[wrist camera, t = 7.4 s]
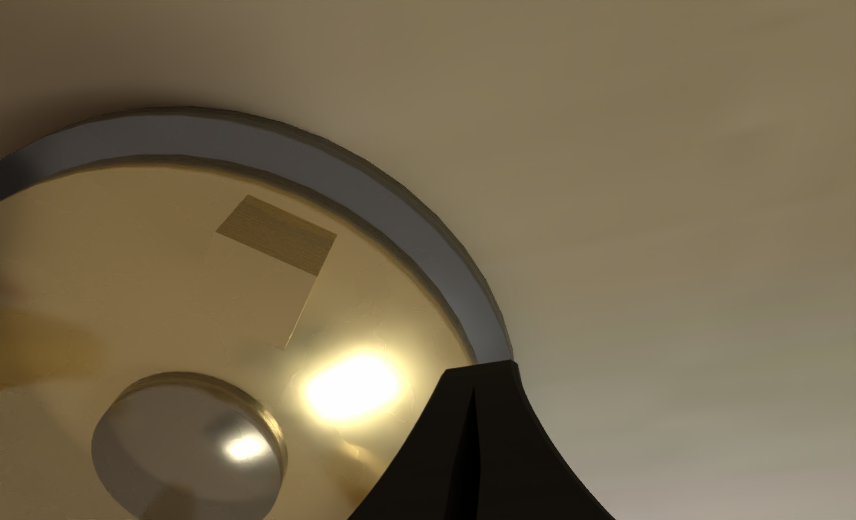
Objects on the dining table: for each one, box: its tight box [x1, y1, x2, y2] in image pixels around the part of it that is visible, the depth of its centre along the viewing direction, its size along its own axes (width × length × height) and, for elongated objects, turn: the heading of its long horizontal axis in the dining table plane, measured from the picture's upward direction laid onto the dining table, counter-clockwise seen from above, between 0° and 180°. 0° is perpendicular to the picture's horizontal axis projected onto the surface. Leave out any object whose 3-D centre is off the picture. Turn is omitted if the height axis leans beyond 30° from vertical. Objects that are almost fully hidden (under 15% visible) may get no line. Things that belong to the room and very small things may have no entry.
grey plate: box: [0, 107, 514, 364], centre depth 24 cm, size 21×21×1 cm
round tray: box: [0, 154, 478, 520], centre depth 22 cm, size 19×19×4 cm
